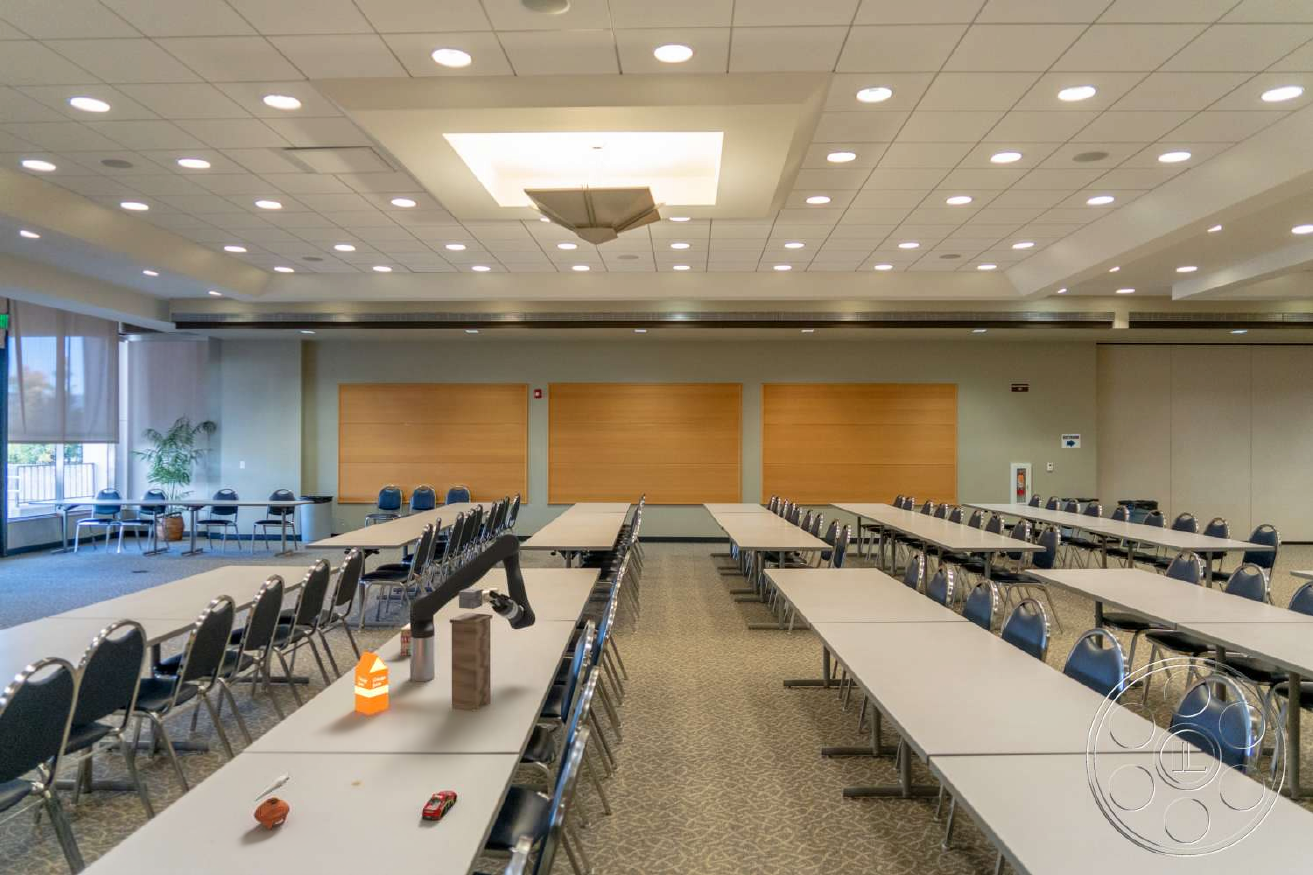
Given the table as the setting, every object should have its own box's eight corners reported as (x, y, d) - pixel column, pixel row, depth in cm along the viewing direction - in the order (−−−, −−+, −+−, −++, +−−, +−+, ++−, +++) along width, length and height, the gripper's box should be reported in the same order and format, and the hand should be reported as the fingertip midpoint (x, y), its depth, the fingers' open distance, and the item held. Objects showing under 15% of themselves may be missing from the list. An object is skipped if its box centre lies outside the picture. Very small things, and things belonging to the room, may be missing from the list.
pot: (282, 811, 197) (285, 787, 196) (291, 829, 191) (295, 805, 190) (248, 821, 191) (251, 796, 190) (257, 840, 186) (260, 814, 185)
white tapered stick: (285, 775, 219) (285, 769, 218) (294, 776, 218) (294, 770, 218) (250, 802, 204) (250, 795, 204) (259, 803, 203) (259, 796, 203)
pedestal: (466, 698, 284) (466, 612, 284) (492, 701, 281) (492, 614, 281) (449, 708, 273) (449, 619, 274) (476, 711, 270) (476, 621, 270)
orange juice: (373, 703, 279) (373, 648, 279) (388, 708, 274) (388, 652, 274) (354, 709, 273) (354, 653, 273) (369, 714, 268) (369, 657, 268)
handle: (487, 596, 294) (487, 581, 294) (501, 597, 292) (501, 582, 292) (458, 607, 275) (458, 591, 275) (473, 609, 273) (473, 592, 273)
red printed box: (416, 643, 363) (416, 617, 363) (429, 643, 363) (429, 617, 363) (400, 656, 341) (400, 628, 342) (414, 656, 341) (414, 628, 341)
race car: (441, 797, 206) (441, 782, 206) (460, 799, 205) (460, 784, 205) (417, 821, 193) (417, 805, 193) (437, 822, 192) (437, 806, 192)
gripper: (491, 596, 305) (471, 581, 291) (523, 598, 301) (504, 583, 287) (487, 614, 302) (466, 600, 287) (519, 617, 297) (499, 603, 283)
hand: (485, 592), depth 287 cm, fingers closed on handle, 3 cm apart
